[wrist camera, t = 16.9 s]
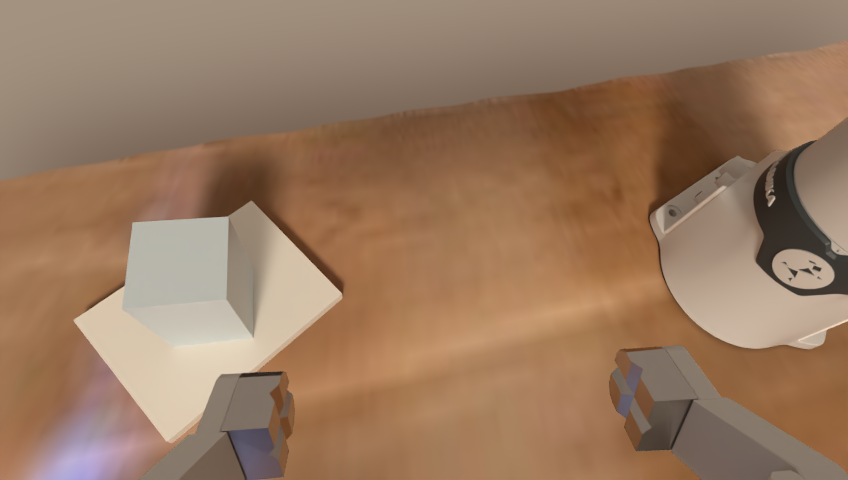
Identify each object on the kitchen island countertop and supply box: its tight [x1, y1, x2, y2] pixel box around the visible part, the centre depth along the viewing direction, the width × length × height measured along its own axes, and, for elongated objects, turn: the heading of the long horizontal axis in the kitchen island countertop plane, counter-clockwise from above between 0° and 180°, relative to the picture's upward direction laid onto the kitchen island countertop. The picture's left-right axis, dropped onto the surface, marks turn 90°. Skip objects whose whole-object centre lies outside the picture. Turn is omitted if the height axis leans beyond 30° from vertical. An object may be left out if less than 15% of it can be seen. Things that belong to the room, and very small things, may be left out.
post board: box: [73, 200, 342, 443], centre depth 35 cm, size 16×12×8 cm
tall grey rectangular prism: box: [122, 217, 254, 347], centre depth 34 cm, size 6×6×9 cm
